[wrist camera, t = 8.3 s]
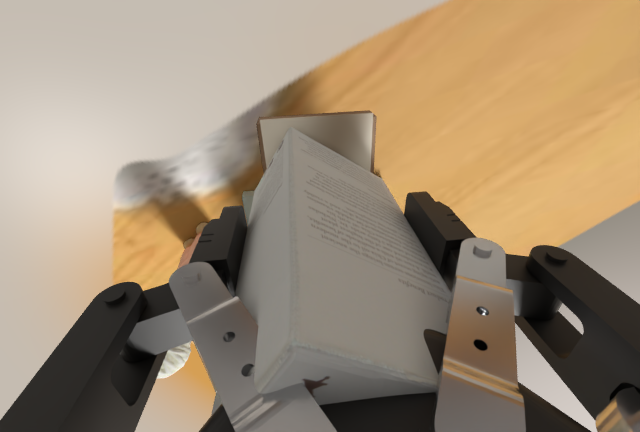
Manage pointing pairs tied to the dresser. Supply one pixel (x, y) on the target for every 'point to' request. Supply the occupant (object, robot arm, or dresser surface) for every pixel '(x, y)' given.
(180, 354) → the grandmother figurine
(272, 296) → the skincare box
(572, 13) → the dresser surface
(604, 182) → the dresser surface
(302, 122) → the beam
